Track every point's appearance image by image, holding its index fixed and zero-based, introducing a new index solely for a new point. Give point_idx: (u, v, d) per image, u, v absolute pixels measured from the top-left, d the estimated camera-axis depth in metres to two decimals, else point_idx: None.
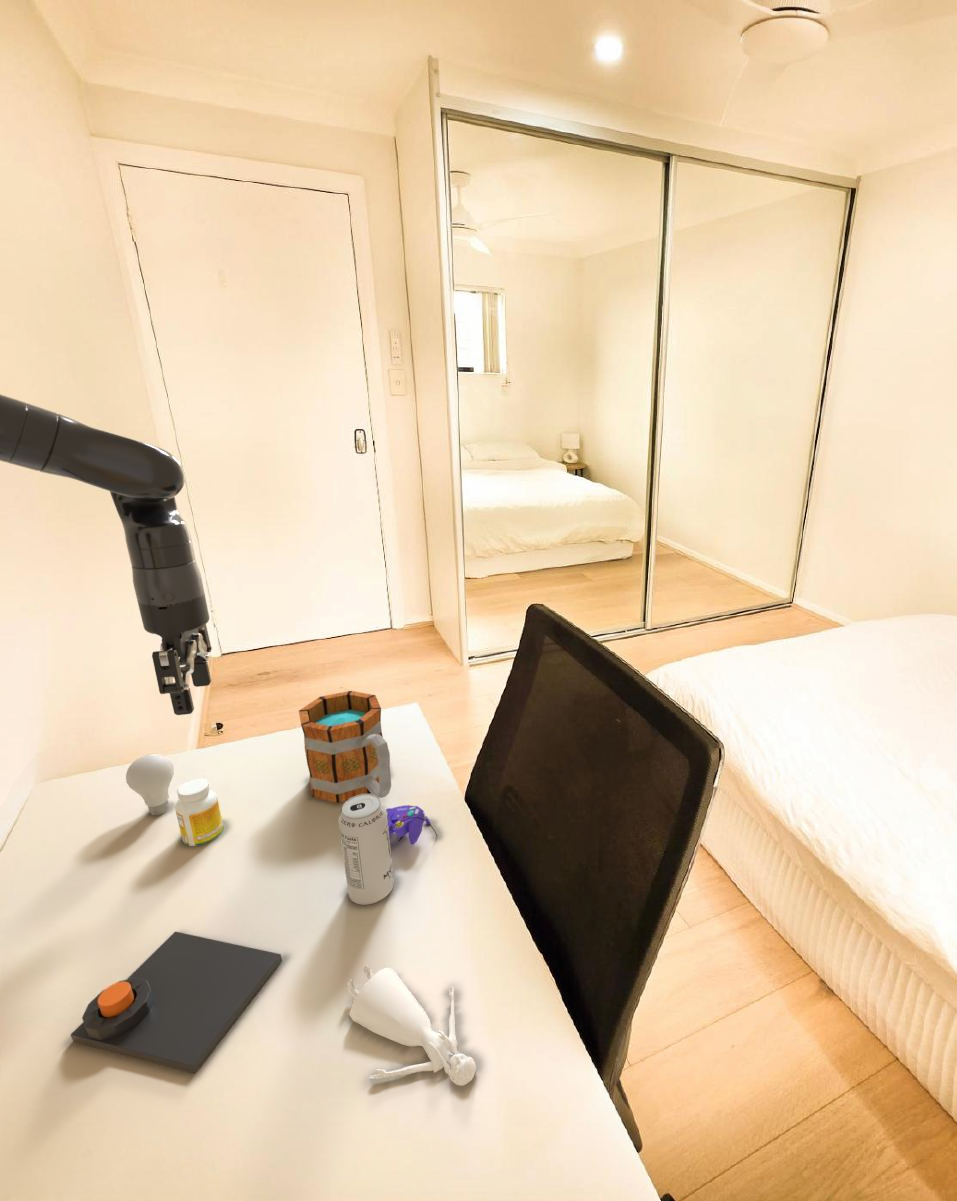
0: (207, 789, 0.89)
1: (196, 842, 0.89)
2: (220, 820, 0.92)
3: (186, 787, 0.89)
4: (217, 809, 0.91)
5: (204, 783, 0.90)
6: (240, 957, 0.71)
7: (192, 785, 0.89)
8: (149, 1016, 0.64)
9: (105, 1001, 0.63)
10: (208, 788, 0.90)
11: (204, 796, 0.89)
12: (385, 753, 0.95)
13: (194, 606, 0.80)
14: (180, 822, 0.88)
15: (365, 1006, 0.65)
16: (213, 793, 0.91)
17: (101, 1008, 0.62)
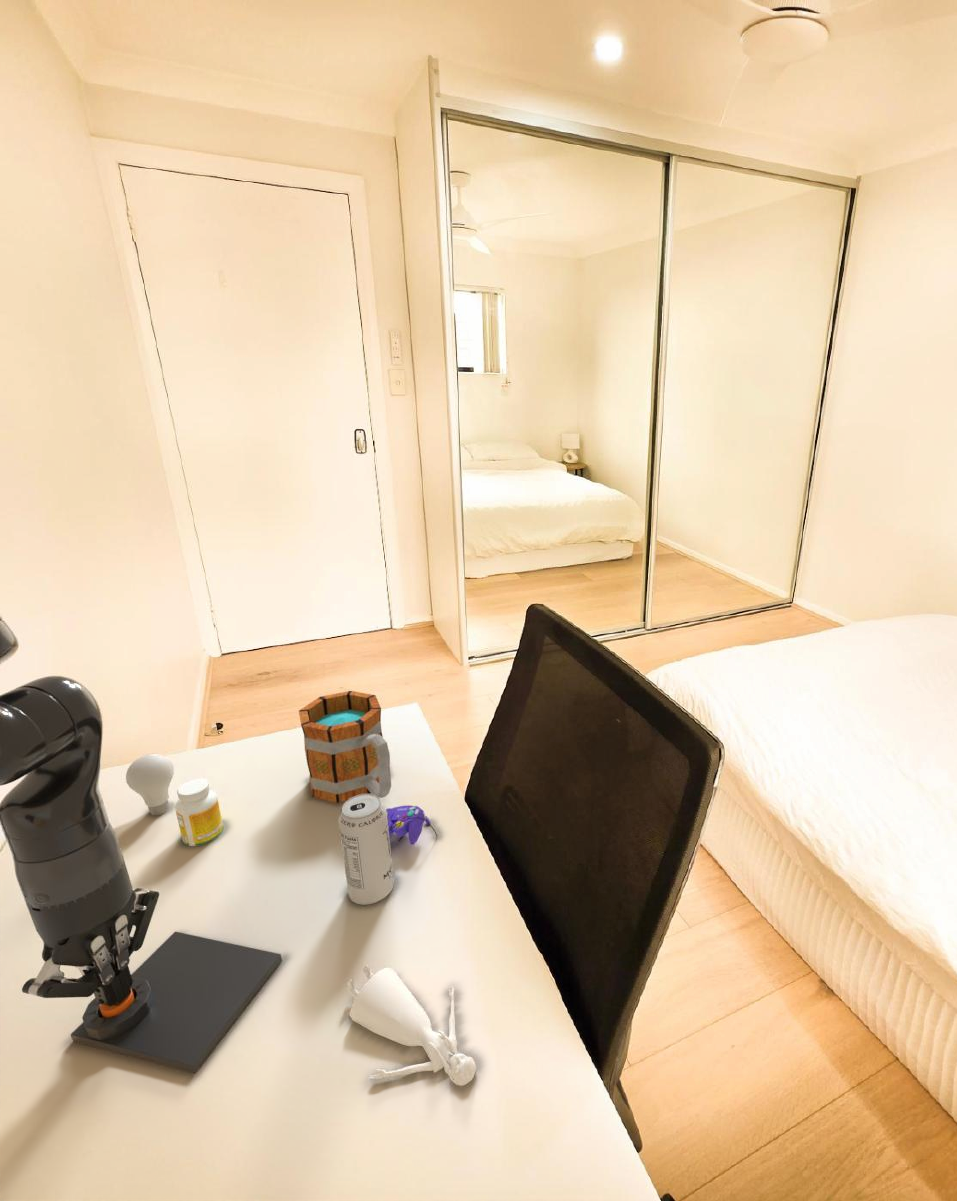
0: (207, 789, 0.89)
1: (196, 842, 0.89)
2: (220, 820, 0.92)
3: (186, 787, 0.89)
4: (217, 809, 0.91)
5: (204, 783, 0.90)
6: (240, 957, 0.71)
7: (192, 785, 0.89)
8: (149, 1016, 0.64)
9: (107, 1006, 0.63)
10: (208, 788, 0.90)
11: (204, 796, 0.89)
12: (385, 753, 0.95)
13: (84, 905, 0.56)
14: (180, 822, 0.88)
15: (365, 1006, 0.65)
16: (213, 793, 0.91)
17: (103, 1013, 0.63)
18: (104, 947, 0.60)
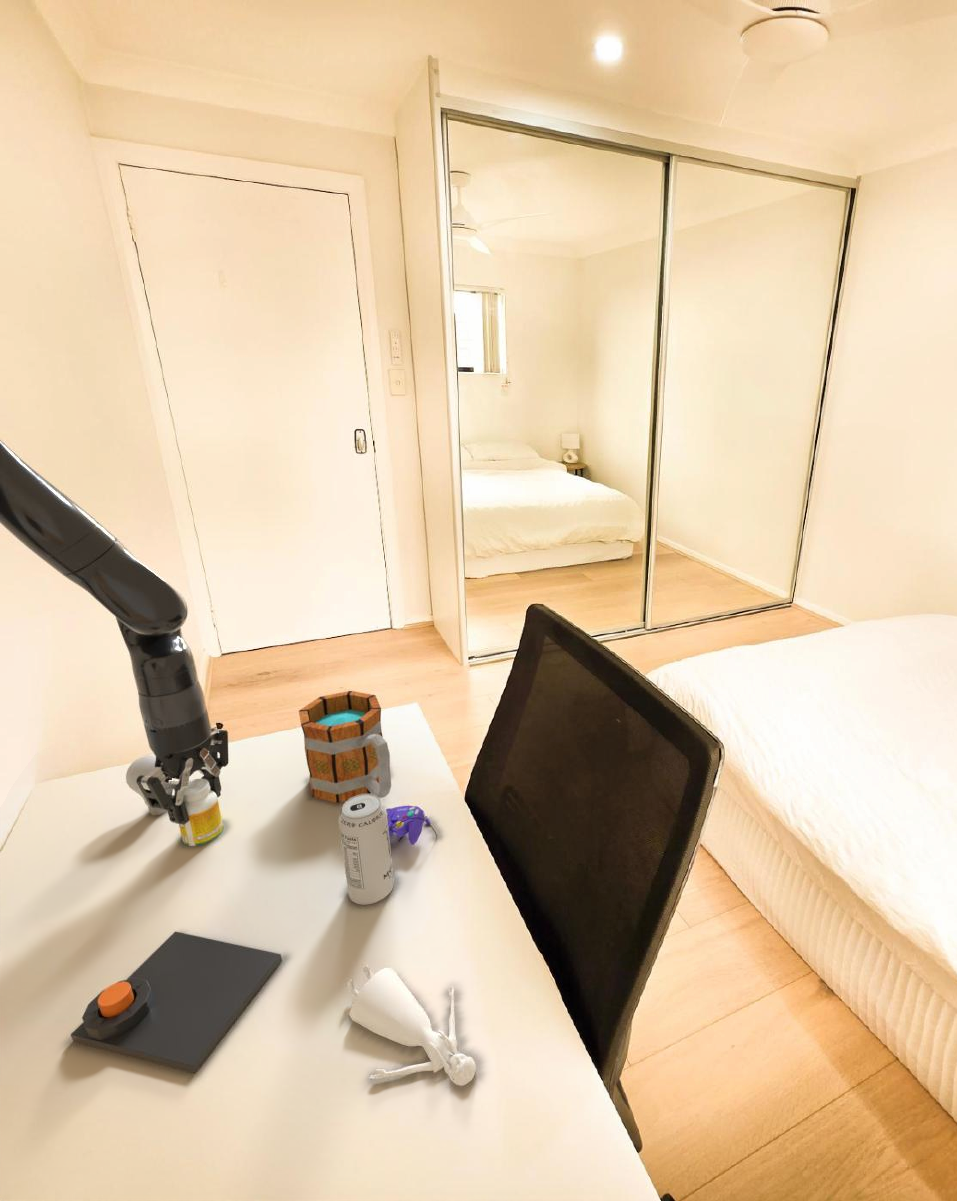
0: (207, 789, 0.89)
1: (196, 842, 0.89)
2: (220, 820, 0.92)
3: None
4: (217, 809, 0.91)
5: (204, 782, 0.90)
6: (240, 957, 0.71)
7: (192, 785, 0.89)
8: (149, 1016, 0.64)
9: (105, 1001, 0.63)
10: (208, 788, 0.90)
11: (204, 796, 0.89)
12: (385, 753, 0.95)
13: (184, 731, 0.83)
14: None
15: (365, 1006, 0.65)
16: (213, 793, 0.91)
17: (101, 1008, 0.62)
18: (189, 771, 0.86)
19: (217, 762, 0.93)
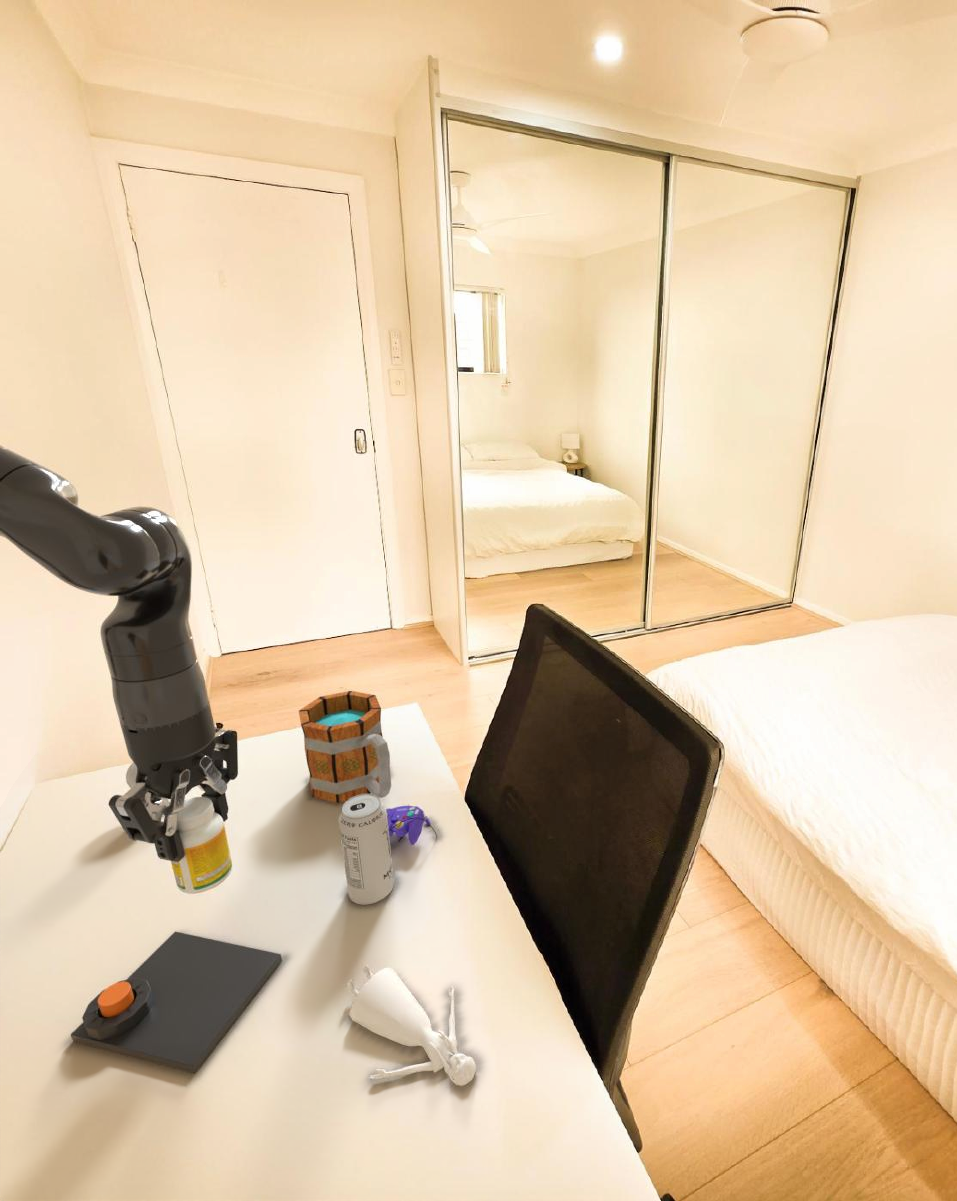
0: (210, 812, 0.65)
1: (195, 885, 0.65)
2: (228, 853, 0.67)
3: None
4: (224, 838, 0.67)
5: (206, 803, 0.65)
6: (240, 957, 0.71)
7: (189, 806, 0.65)
8: (149, 1016, 0.64)
9: (105, 1001, 0.63)
10: (211, 810, 0.65)
11: (206, 821, 0.64)
12: (385, 753, 0.95)
13: (177, 731, 0.58)
14: None
15: (365, 1006, 0.65)
16: (218, 817, 0.67)
17: (101, 1008, 0.62)
18: (185, 788, 0.62)
19: (223, 774, 0.68)
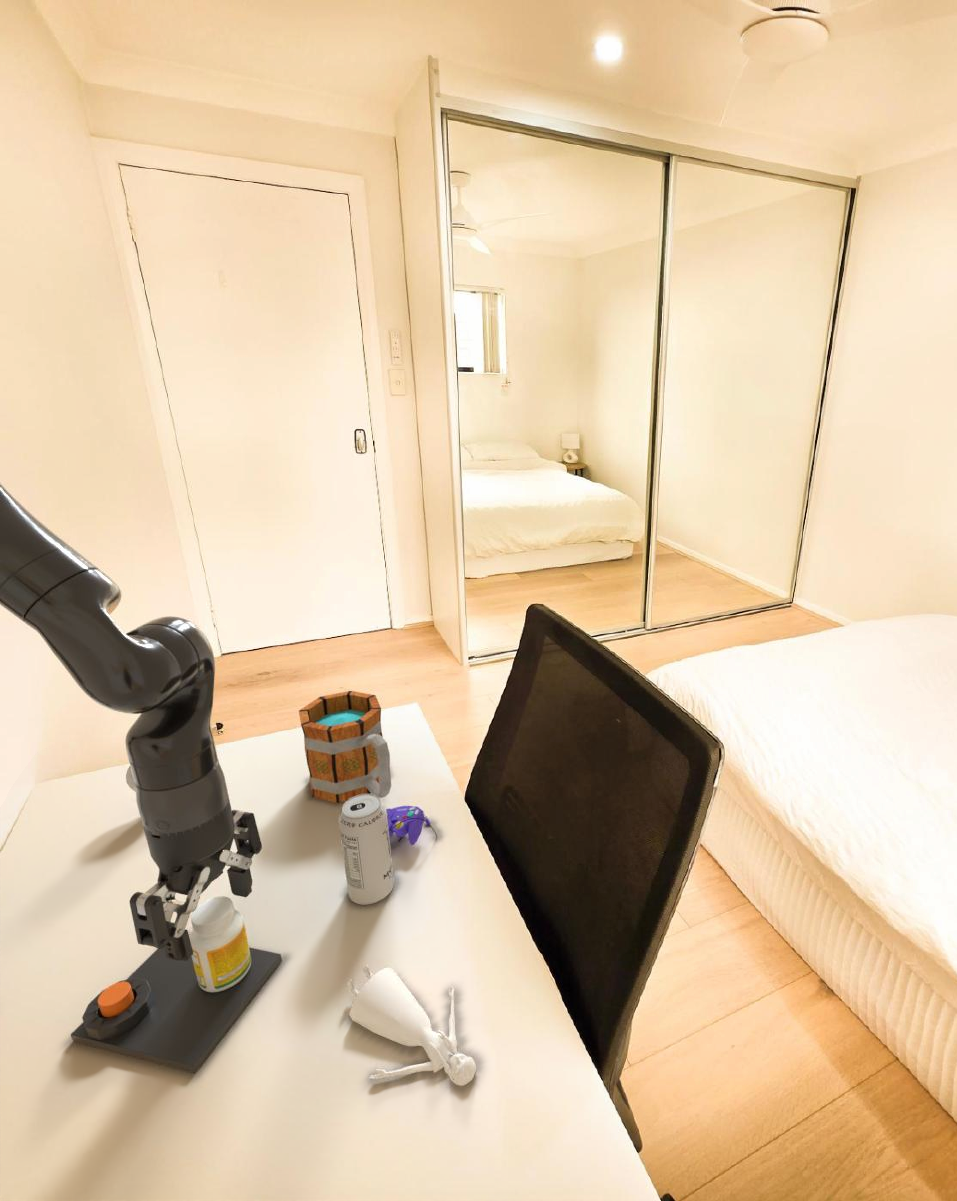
0: (231, 913, 0.67)
1: (216, 984, 0.67)
2: (247, 950, 0.69)
3: (203, 911, 0.66)
4: (243, 937, 0.68)
5: (226, 903, 0.67)
6: None
7: (211, 908, 0.66)
8: (149, 1016, 0.64)
9: (105, 1001, 0.63)
10: (232, 911, 0.67)
11: (227, 923, 0.66)
12: (385, 753, 0.95)
13: (199, 834, 0.60)
14: (195, 960, 0.65)
15: (365, 1006, 0.65)
16: (238, 915, 0.68)
17: (101, 1008, 0.62)
18: (201, 887, 0.62)
19: (248, 849, 0.70)
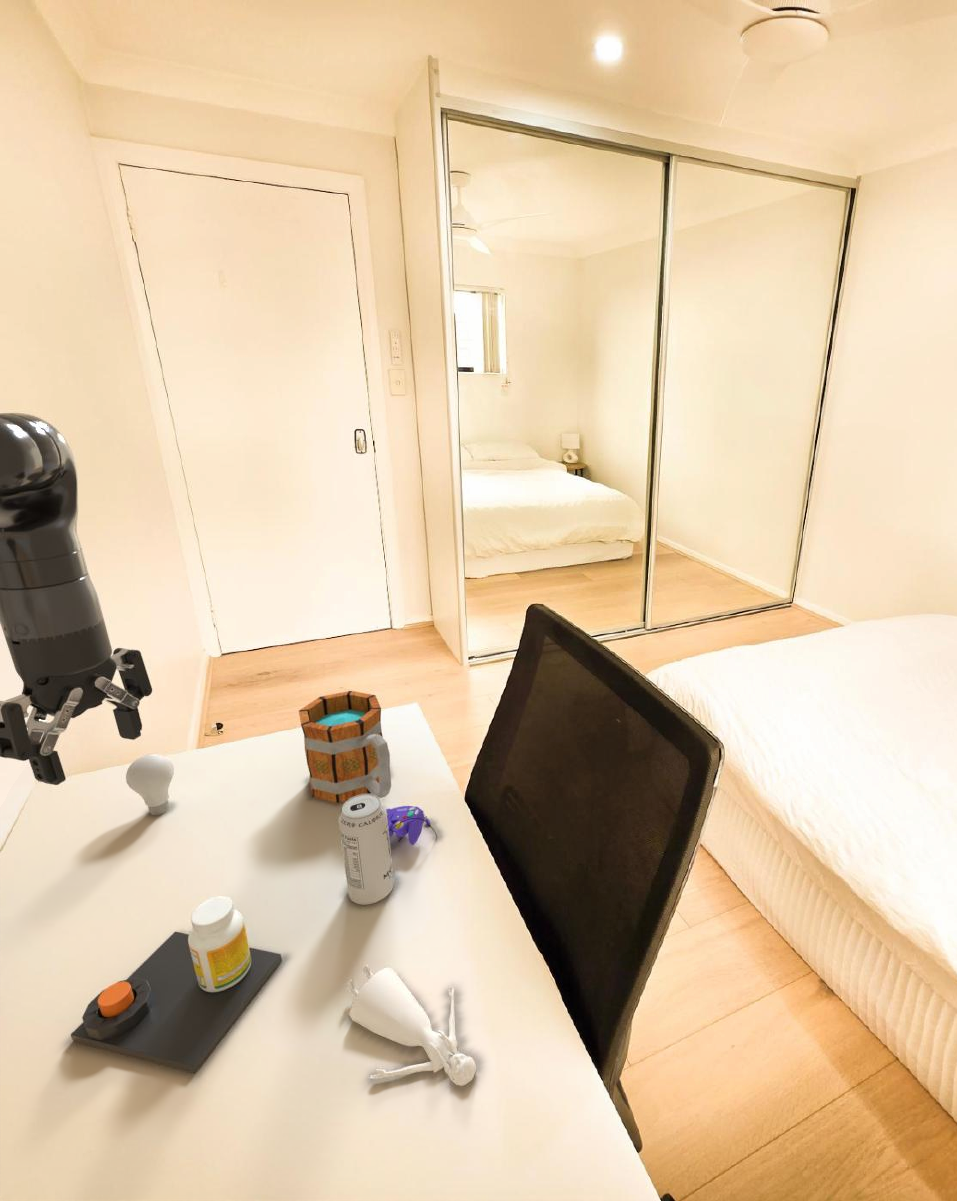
0: (231, 913, 0.67)
1: (216, 984, 0.67)
2: (247, 950, 0.69)
3: (203, 911, 0.66)
4: (243, 937, 0.68)
5: (226, 903, 0.67)
6: None
7: (211, 908, 0.66)
8: (149, 1016, 0.64)
9: (105, 1001, 0.63)
10: (232, 911, 0.67)
11: (227, 923, 0.66)
12: (385, 753, 0.95)
13: (63, 645, 0.57)
14: (195, 960, 0.65)
15: (365, 1006, 0.65)
16: (238, 915, 0.68)
17: (101, 1008, 0.62)
18: (73, 708, 0.60)
19: (135, 690, 0.68)
